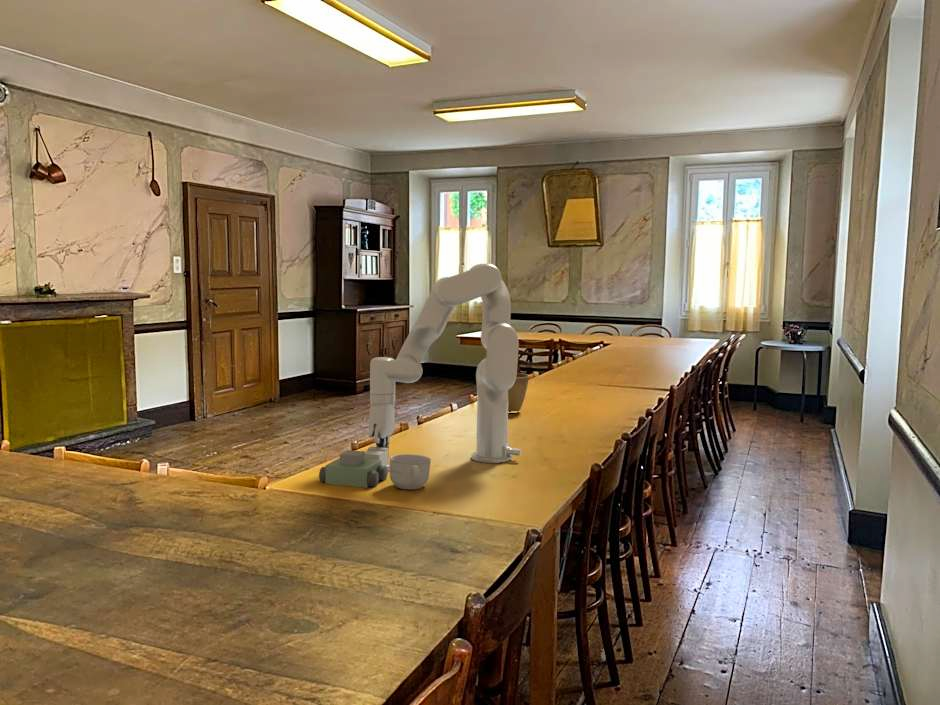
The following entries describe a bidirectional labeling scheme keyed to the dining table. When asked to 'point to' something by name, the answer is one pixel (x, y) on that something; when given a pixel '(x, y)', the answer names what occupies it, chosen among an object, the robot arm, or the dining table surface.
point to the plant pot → (517, 392)
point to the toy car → (354, 470)
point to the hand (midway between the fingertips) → (382, 459)
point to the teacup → (409, 470)
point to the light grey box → (377, 454)
